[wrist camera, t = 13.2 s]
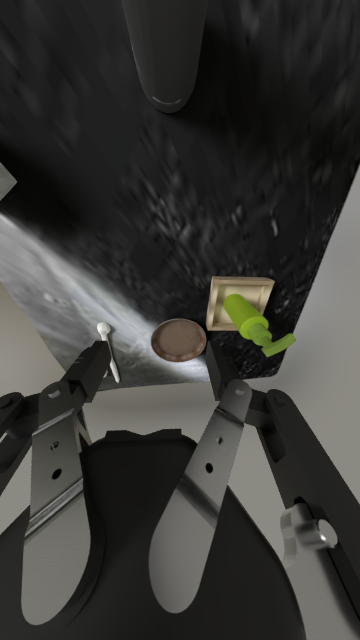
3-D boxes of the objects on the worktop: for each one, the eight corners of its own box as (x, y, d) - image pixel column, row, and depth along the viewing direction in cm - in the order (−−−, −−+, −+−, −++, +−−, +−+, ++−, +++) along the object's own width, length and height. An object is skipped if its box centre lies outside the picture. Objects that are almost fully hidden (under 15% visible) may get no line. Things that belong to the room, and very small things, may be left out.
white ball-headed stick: (126, 380, 60) (124, 386, 57) (116, 380, 60) (113, 386, 57) (110, 321, 46) (107, 326, 43) (97, 321, 45) (92, 326, 43)
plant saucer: (214, 324, 47) (216, 329, 45) (191, 361, 55) (192, 367, 53) (161, 306, 43) (160, 311, 41) (145, 349, 52) (144, 355, 49)
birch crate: (212, 276, 39) (215, 279, 36) (267, 277, 40) (274, 281, 37) (205, 324, 47) (207, 330, 44) (251, 324, 47) (256, 330, 44)
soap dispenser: (250, 301, 42) (301, 348, 25) (229, 315, 45) (264, 367, 27) (240, 286, 40) (290, 327, 23) (219, 302, 42) (249, 349, 25)
